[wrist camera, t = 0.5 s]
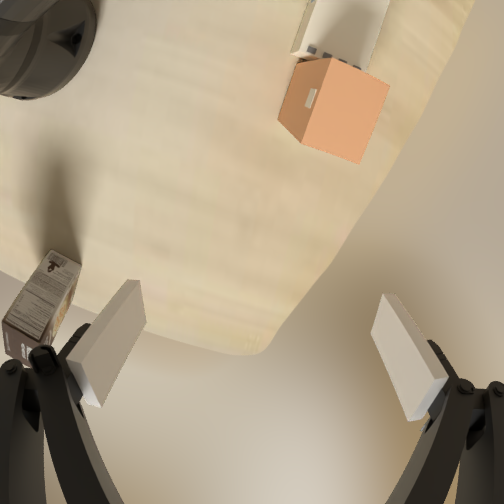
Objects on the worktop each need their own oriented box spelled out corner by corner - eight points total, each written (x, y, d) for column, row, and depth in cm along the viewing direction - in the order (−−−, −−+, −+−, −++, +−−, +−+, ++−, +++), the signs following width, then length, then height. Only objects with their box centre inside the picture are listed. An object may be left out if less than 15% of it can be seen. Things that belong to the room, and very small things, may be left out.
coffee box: (74, 300, 43) (40, 375, 30) (44, 284, 41) (5, 354, 28) (83, 264, 39) (40, 345, 26) (50, 246, 37) (-1, 320, 24)
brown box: (277, 119, 30) (300, 143, 20) (296, 63, 26) (331, 57, 16) (318, 133, 31) (359, 164, 21) (338, 79, 27) (390, 85, 17)
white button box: (289, 53, 26) (298, 50, 22) (319, -29, 19) (332, -42, 15) (348, 76, 27) (365, 78, 23) (375, -3, 21) (395, -11, 17)
